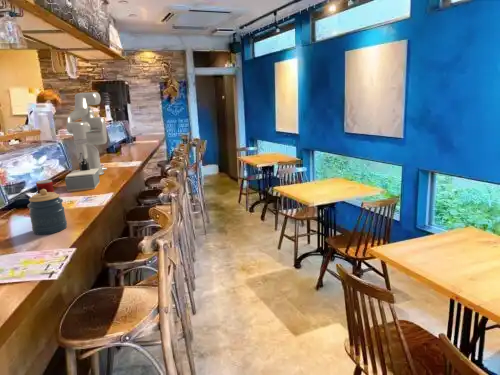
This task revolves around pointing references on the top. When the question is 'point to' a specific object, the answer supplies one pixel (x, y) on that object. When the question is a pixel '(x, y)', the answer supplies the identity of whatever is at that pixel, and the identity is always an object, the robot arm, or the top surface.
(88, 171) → the sliding lid
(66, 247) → the top surface
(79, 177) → the grey box
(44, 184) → the canned food
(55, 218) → the canister
